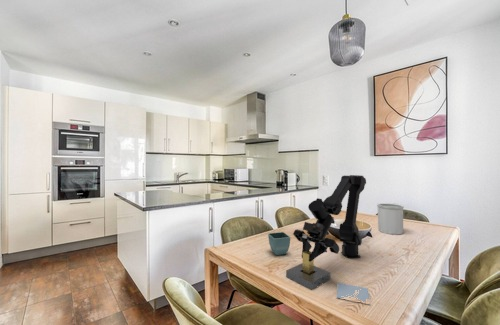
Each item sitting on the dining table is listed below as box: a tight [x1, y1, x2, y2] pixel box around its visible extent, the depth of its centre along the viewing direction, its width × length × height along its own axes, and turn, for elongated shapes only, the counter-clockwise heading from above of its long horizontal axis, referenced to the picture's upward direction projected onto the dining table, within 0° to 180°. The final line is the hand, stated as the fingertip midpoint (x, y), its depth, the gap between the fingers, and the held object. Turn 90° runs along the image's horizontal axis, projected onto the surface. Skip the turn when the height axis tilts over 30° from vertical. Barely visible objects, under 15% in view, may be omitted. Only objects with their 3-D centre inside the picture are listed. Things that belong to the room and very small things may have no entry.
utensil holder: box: [376, 202, 405, 235], centre depth 149 cm, size 15×15×18 cm
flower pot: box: [267, 231, 291, 256], centre depth 114 cm, size 9×9×9 cm
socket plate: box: [285, 262, 331, 291], centre depth 89 cm, size 12×12×2 cm
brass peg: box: [302, 250, 315, 275], centre depth 89 cm, size 3×3×10 cm
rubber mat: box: [336, 282, 371, 302], centre depth 79 cm, size 10×10×1 cm
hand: (305, 259), depth 89 cm, fingers closed on brass peg, 3 cm apart
